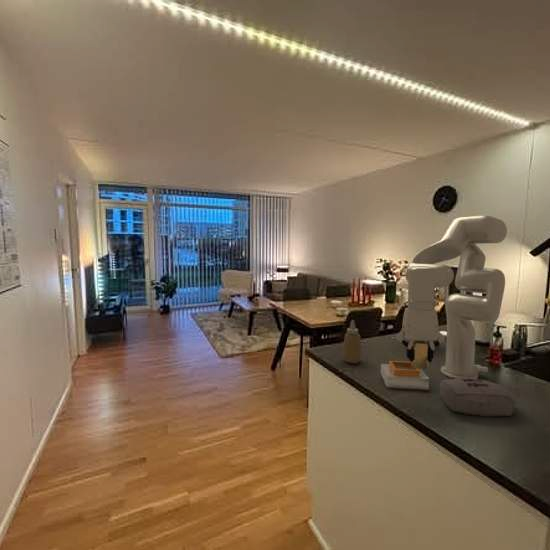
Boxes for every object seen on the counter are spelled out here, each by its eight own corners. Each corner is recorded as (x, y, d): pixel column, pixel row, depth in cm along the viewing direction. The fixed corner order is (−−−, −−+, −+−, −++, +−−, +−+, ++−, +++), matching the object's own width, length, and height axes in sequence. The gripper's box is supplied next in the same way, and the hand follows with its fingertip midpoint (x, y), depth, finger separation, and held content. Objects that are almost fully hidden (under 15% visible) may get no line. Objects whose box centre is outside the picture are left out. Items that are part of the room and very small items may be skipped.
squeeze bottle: (362, 365, 130) (363, 323, 128) (342, 364, 132) (343, 322, 130) (361, 358, 138) (361, 319, 136) (342, 357, 140) (343, 318, 138)
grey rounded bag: (453, 417, 90) (529, 422, 87) (454, 390, 89) (531, 394, 87) (434, 393, 105) (498, 397, 102) (435, 369, 104) (499, 372, 102)
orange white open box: (418, 375, 119) (419, 360, 119) (428, 389, 107) (429, 373, 107) (380, 373, 121) (381, 358, 121) (386, 387, 110) (387, 370, 109)
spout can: (430, 369, 97) (431, 342, 96) (413, 368, 98) (414, 341, 97) (423, 361, 103) (424, 335, 102) (408, 360, 104) (408, 335, 103)
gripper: (445, 302, 100) (443, 356, 102) (390, 302, 103) (389, 355, 105) (454, 307, 93) (452, 365, 95) (395, 307, 96) (394, 364, 97)
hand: (419, 359), depth 100 cm, fingers closed on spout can, 5 cm apart
